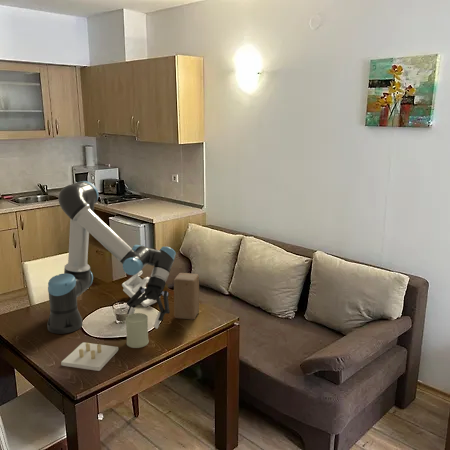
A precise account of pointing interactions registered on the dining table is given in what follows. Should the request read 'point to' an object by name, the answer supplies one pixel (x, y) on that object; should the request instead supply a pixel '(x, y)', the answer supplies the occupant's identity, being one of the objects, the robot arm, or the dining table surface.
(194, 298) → the wooden block
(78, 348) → the standoff plate
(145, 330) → the can
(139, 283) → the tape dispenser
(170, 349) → the dining table surface
